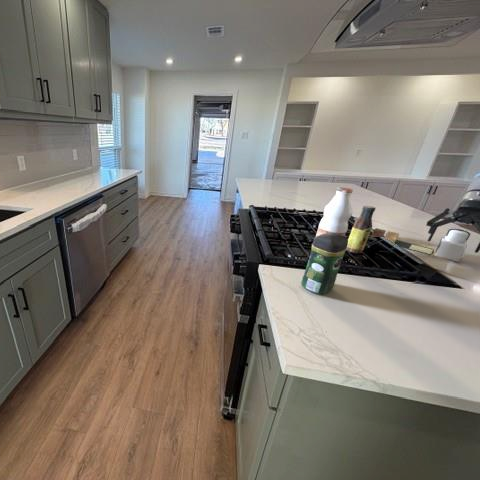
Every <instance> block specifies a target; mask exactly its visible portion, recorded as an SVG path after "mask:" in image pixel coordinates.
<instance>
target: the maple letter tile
mask: <svg viewBox="0 0 480 480" xmlns="http://www.w3.org/2000/svg"><path fill="white" fill-rule="evenodd" d="M399 236H400V233H398V232H393V231H391V230H389V231H386V232H385V235H384V237H385V238H386V239H388V240H390V241H392V242H394V243H395V242H396V241H397V240H398V239H399Z"/></svg>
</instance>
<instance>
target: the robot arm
mask: <svg viewBox="0 0 480 480" xmlns="http://www.w3.org/2000/svg"><path fill="white" fill-rule="evenodd" d="M450 215H452V216H450ZM446 216H450V217H447V218H445V217H446ZM455 222H458V223H460V224H465V225H472V227H473V228H475V229H476V230H477V231H478V233H479V234H480V172H479V173H476V175H475V176H474V177H473V178H472V179H471V181H470V184H469V185H468V188H467V189H466V192H465V193H464V195H463V197H462V199H461V201H460V203H459V204H458V205H457V208H456V210H451V209H450V208H449V207H448V208H447V207H446V208H445V209H444V211H443V212H441V213H439V214H438V215H436V216H434V217H433V218H430V219H429V220H427V221H426V224H425V225H426V227H430V228H429V229H428V231H427V234H429V237H428V239H427V242H431V241H432V239H433V237H434V236H435V233H436V231H437V230H438V228H439V227H442V226H445V225H448V224H450V223H455ZM479 252H480V241H479V242H478V244H477V247H476V248H475V250H474V253H475V254H478V253H479Z"/></svg>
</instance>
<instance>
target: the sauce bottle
mask: <svg viewBox="0 0 480 480" xmlns="http://www.w3.org/2000/svg"><path fill="white" fill-rule="evenodd" d="M375 211H376V207H375V206H373V205H372V206H371V205H363V206H362V210H361V213H360V216H359V217H357V218H356V219H355V220H354V223H353V226H352V227H351V230H350V233H349V235H348V238H347V240H348V245H347V248H346V251H347V252H350V253H353V254H362V253H363V252H364V250H365V247H366V245H367V241H368V240H369V239H368V238H369V237H370V234H371V231H372V229H373V215H374V212H375Z"/></svg>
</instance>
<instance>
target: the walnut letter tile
mask: <svg viewBox="0 0 480 480" xmlns="http://www.w3.org/2000/svg"><path fill="white" fill-rule="evenodd" d="M386 233H387V230H385V229H383V228H382V229H381V228H378V227H376V228H374V229H373V231H372V233H371V235H370V236H371V238H372V237H385V235H386ZM375 239H376V238H375Z"/></svg>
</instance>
